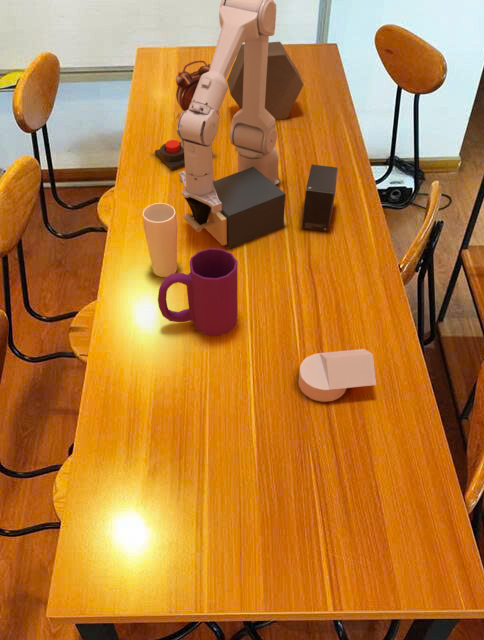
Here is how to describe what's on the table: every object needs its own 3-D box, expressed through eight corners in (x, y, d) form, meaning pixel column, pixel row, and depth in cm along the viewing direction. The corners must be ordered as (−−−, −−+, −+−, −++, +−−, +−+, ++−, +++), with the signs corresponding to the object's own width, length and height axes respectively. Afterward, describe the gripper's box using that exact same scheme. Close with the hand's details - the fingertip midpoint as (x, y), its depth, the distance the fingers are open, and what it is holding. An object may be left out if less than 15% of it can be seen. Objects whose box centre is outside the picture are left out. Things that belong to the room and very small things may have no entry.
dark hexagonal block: (307, 86, 190) (269, 23, 176) (313, 100, 185) (274, 36, 171) (256, 122, 196) (215, 64, 182) (260, 136, 191) (218, 78, 177)
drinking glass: (185, 264, 151) (180, 205, 139) (173, 283, 147) (168, 225, 135) (156, 257, 152) (150, 199, 140) (144, 277, 148) (136, 218, 136)
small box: (329, 233, 157) (334, 193, 148) (300, 229, 158) (304, 190, 149) (334, 205, 163) (339, 166, 155) (306, 202, 164) (310, 163, 156)
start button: (175, 144, 176) (175, 138, 175) (182, 151, 174) (182, 144, 173) (163, 148, 175) (162, 142, 174) (170, 155, 173) (169, 149, 172)
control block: (195, 141, 182) (194, 130, 180) (212, 156, 177) (212, 146, 175) (154, 155, 178) (153, 144, 176) (171, 171, 173) (170, 160, 171)
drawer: (204, 253, 151) (203, 227, 146) (178, 226, 157) (176, 200, 152) (273, 225, 157) (274, 199, 152) (245, 200, 163) (245, 174, 158)
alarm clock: (211, 108, 193) (210, 53, 181) (219, 115, 190) (217, 60, 179) (176, 117, 190) (171, 62, 178) (182, 125, 187) (179, 70, 176)
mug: (241, 334, 137) (241, 276, 125) (163, 343, 135) (156, 286, 124) (233, 303, 142) (233, 244, 131) (159, 311, 141) (152, 253, 129)
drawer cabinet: (229, 248, 154) (228, 215, 147) (200, 219, 161) (198, 186, 154) (283, 226, 158) (285, 193, 152) (252, 199, 165) (253, 166, 159)
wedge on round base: (361, 360, 132) (294, 367, 131) (366, 336, 126) (296, 342, 126) (373, 396, 126) (303, 403, 125) (379, 372, 121) (306, 379, 120)
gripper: (165, 158, 145) (169, 213, 155) (200, 191, 137) (202, 247, 147) (193, 148, 147) (196, 203, 158) (230, 180, 139) (230, 236, 150)
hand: (201, 223), depth 153 cm, fingers closed, pressing on drawer
